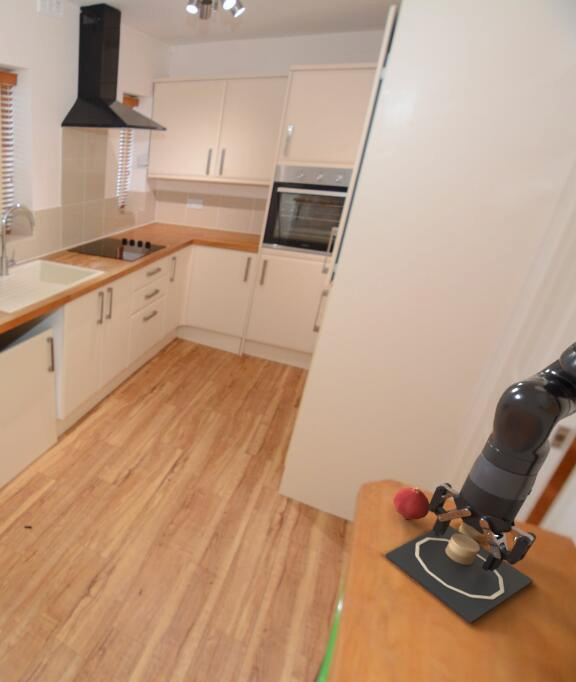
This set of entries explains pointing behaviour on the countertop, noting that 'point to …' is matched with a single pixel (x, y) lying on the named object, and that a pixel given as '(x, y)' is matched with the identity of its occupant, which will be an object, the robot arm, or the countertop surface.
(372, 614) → the countertop surface
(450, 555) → the dot
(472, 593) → the slate board
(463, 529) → the dot
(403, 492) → the onion
